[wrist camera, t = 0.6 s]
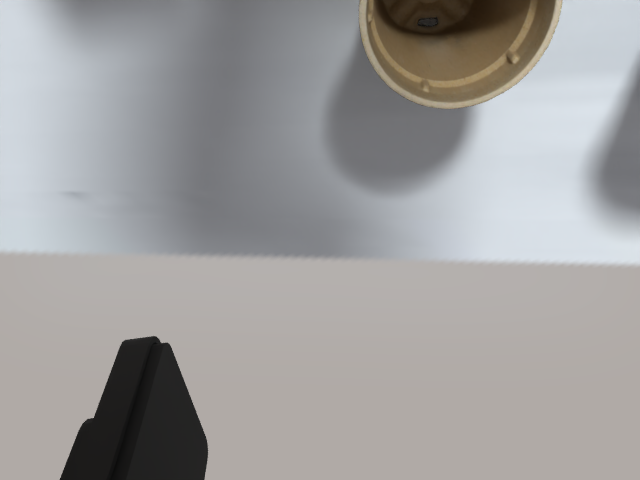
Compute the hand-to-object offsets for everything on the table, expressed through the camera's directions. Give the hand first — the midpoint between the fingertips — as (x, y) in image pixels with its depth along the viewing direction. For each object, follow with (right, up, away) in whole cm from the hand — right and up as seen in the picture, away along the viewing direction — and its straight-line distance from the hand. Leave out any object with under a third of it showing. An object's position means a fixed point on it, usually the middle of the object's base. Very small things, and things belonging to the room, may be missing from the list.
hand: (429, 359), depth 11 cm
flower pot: (+4, +17, +24) cm, 30 cm away
